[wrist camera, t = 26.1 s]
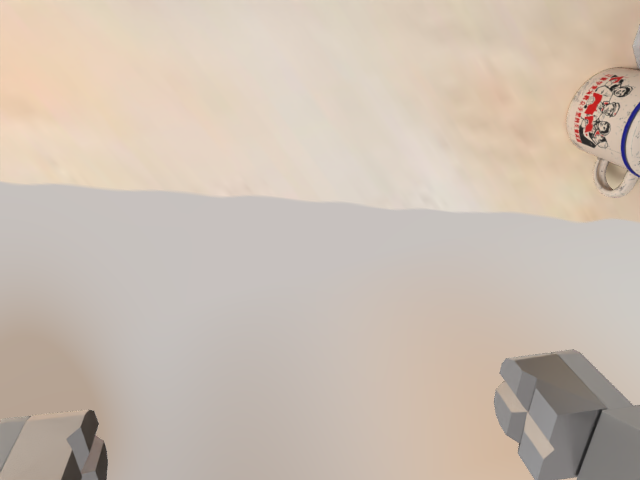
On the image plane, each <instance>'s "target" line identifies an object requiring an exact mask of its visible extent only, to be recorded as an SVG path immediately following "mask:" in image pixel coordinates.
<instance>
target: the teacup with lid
mask: <svg viewBox="0 0 640 480" xmlns="http://www.w3.org/2000/svg"><path fill="white" fill-rule="evenodd" d="M566 126H567V132H568V135H569V138H570V140H571V141H572V143H573V144H574V145H575V146H576V147H578V148H579V149H581V150H583V151H585V152H587V153H590V154H592V155H594V156H597V160H596V162H595V165H594V169H593V180H594V183H595V185H596V187H597V189H598V190H599V191H600V192H601V193H602V194H604V195H605V196H608V197H613V198H619V197H622V196H624V195H626V194H628V193H629V192H630V191H631V190H632V189H633V187H634V186H635V184H636V182H637V180H638V178H639V177H640V70H634V69H627V68H611V69H607V70H604V71H602V72H600V73H598V74H596V75H594V76H593V77H591V78H590V79H589V80H588V81H587V82H585V83H584V84H583V85H582V87H581V88H580V89H579V90H578V92H577V93H576V95H575V96H574V98H573V100H572V102H571V104H570V107H569V110H568V114H567V121H566ZM608 162H611V163H614V164H616V165H618V166H621V167H623V168H625V169H628V170H627V173H626V175H625V177H624V179H623V181H622V183H621V184H620V185H619V186H618V187H617V188H616V189H614V190H613V189H612V188H611V187H610V186H609V185H608V183H607V181H606V177H605V173H606V168H607V165H608Z"/></svg>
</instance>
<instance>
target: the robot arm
mask: <svg viewBox="0 0 640 480" xmlns="http://www.w3.org/2000/svg"><path fill="white" fill-rule="evenodd" d="M500 374H501V376H502V377H503V379H504V381H503V382H502V384H501V385H500V386H499V387H498V388H497V389H496V392H495V398H494V405H495V412H496V416H497V418H498V421H499V424H500V426H501V427H502V429H503V431H504V432H505V434H506V435H507V436H509V437H510V438H512V439H513V440H515V441H517V442H518V443H519V448H518V454H519V456H520V458H521V459H522V461H523V462H524V464H525V465H526V467H527V468H528V470H529V472H530V473H531V474H532V476H533V478H534V479H535V480H559V479H567V478H574V477H577V480H640V405H635V406H633V405H632V404H631V403H630V402H629V401H628V400H627V399H626V398H625V397H624V396H623V395H622V394H621V393H620V392H619V391H618V390H617V389H616V388H615V387H614V386H613V385H612V384H611V383H610V382H609V381H608V380H607V379H606V378H605V377H604V376H603V375H602V374H601V373H600V372H599V371H598V370H597V369H596V368H595V367H594V366H593V365H592V364H591V363H590V362H589V361H588V360H587V359H586V358H585V357H584V356H583V355H582V354H581V353H580V352H578V351H576V350H574V349H573V350H565V351H559V352H551V353H543V354H536V355H528V356H521V357H514V358H506V359H505V361H504V362H503V363H502V366H501V370H500ZM98 425H99V423H98V421H97V418H96V415H95V412H94V411H92V410H80V411H70V412H60V413H50V414H40V415H32V416H27V417H15V418H4V419H2V420H0V480H106V479H107V466H108V459H107V451H106V447H105V443H104V441H103V440H102V439H100V438H99V437H97V436H96V435H95V434H96V431H97V428H98Z"/></svg>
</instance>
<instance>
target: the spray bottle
mask: <svg viewBox="0 0 640 480" xmlns="http://www.w3.org/2000/svg"><path fill="white" fill-rule="evenodd" d="M633 50H634V54H635V58H636V62H637V66H638V68H639V69H640V25H639V28H638V31H637V35H636V38H635V41H634V44H633Z"/></svg>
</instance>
